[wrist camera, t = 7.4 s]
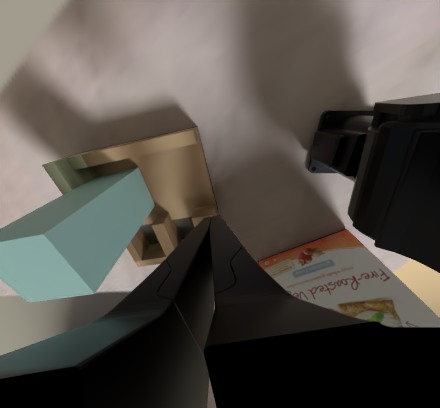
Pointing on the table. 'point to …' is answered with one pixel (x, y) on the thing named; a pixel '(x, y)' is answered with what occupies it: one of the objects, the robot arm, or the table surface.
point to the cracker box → (348, 282)
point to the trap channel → (152, 186)
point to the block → (74, 237)
